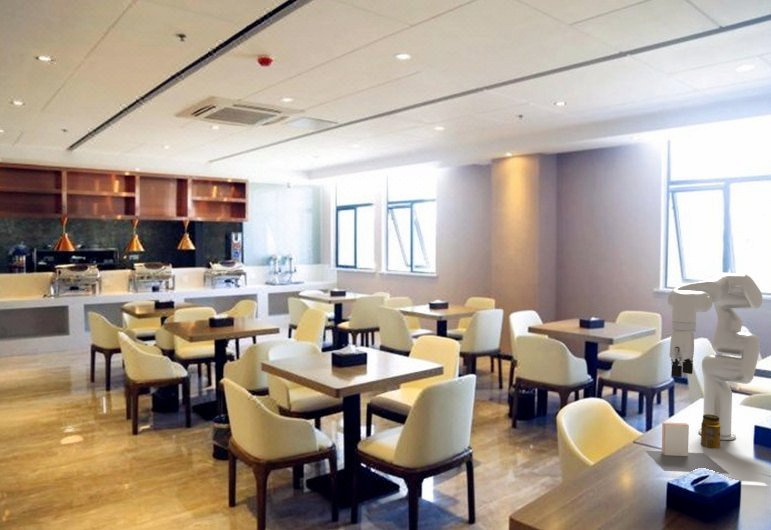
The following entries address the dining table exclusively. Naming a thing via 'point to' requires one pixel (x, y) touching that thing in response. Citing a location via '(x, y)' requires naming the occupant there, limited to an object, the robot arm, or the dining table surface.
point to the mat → (685, 462)
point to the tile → (675, 439)
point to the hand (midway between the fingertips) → (682, 374)
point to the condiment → (710, 431)
